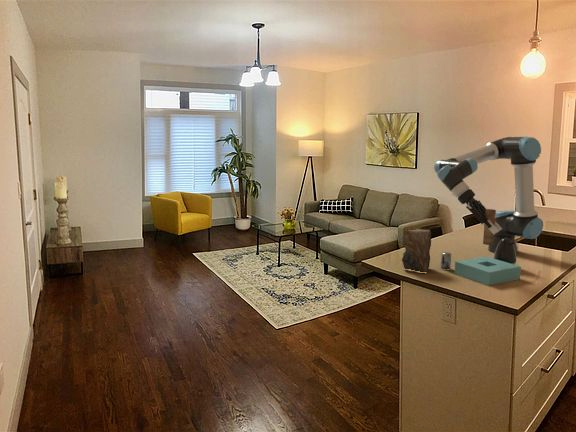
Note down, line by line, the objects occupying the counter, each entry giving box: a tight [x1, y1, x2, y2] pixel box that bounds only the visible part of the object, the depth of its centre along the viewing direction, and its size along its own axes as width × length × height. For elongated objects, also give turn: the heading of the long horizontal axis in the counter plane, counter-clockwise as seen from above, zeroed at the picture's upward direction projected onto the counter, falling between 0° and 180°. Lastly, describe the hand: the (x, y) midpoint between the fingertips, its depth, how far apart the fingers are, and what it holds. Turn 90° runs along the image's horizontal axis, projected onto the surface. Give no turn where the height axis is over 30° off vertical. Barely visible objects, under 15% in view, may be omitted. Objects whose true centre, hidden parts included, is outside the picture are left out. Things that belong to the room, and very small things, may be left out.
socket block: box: [454, 256, 522, 286], centre depth 213 cm, size 20×20×6 cm
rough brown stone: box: [401, 228, 432, 273], centre depth 224 cm, size 13×13×20 cm
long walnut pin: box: [482, 208, 497, 246], centre depth 209 cm, size 4×4×16 cm
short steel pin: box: [440, 251, 452, 270], centre depth 225 cm, size 4×4×8 cm
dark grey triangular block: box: [493, 238, 517, 265], centre depth 225 cm, size 10×10×15 cm
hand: (497, 231), depth 207 cm, fingers closed on long walnut pin, 4 cm apart
